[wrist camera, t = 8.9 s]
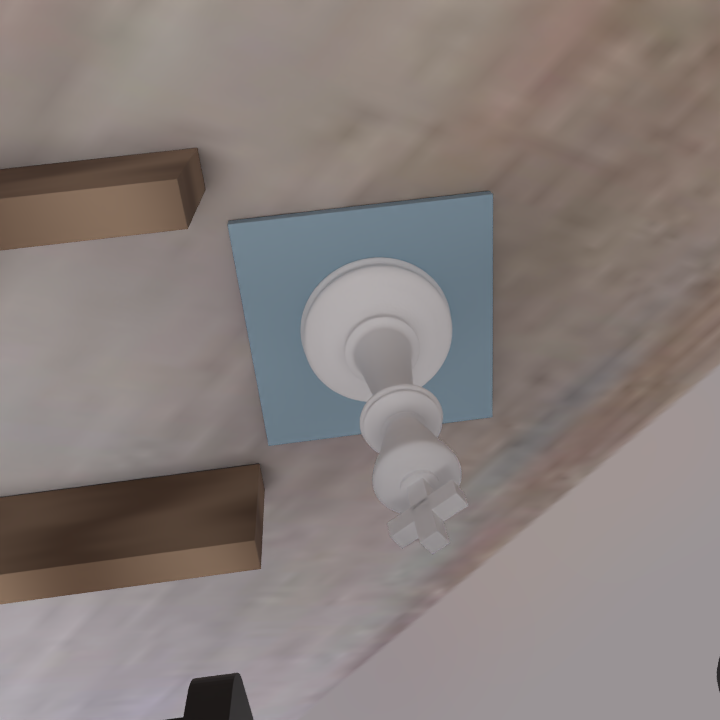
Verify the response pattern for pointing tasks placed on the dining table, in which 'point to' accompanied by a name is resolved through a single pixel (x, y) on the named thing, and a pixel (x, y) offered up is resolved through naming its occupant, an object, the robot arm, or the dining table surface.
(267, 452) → the dining table surface
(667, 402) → the dining table surface
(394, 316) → the chess piece
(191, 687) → the robot arm
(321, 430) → the pad
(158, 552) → the wooden blocks
